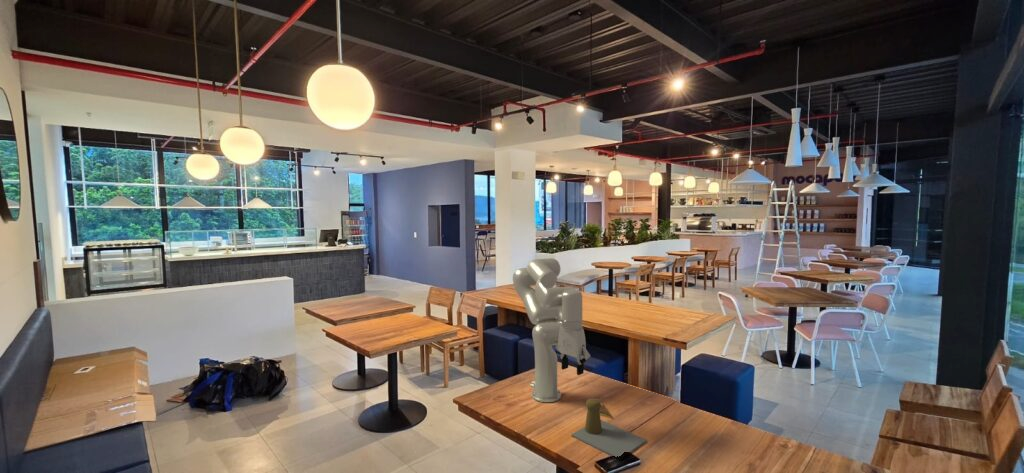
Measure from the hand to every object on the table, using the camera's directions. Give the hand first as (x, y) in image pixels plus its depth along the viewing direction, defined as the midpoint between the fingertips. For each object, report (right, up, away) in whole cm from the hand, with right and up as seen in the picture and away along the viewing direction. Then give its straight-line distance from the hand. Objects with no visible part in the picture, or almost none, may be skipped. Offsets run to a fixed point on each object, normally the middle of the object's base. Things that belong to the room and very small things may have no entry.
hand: (572, 370), depth 157 cm
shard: (+13, -20, +10) cm, 25 cm away
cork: (+7, -19, -6) cm, 21 cm away
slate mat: (+11, -20, -11) cm, 25 cm away
